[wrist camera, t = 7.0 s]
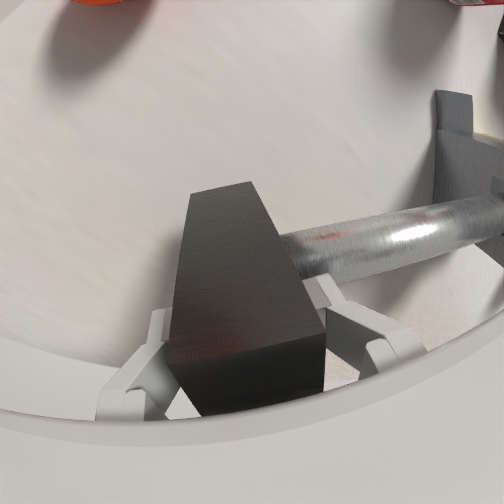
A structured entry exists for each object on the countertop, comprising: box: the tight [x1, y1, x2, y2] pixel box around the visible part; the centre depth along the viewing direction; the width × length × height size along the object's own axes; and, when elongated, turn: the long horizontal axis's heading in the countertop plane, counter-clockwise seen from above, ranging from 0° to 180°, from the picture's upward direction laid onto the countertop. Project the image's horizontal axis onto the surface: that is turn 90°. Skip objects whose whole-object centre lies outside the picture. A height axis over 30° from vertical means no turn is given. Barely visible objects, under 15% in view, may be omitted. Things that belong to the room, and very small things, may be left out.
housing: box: [433, 90, 504, 268], centre depth 14 cm, size 4×14×12 cm, turn 9°
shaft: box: [167, 181, 504, 417], centre depth 11 cm, size 19×5×10 cm, turn 99°
